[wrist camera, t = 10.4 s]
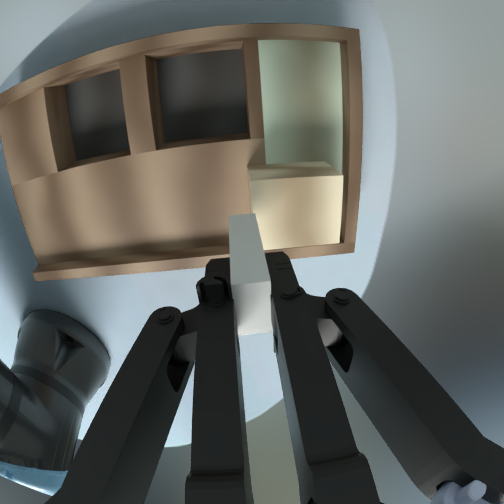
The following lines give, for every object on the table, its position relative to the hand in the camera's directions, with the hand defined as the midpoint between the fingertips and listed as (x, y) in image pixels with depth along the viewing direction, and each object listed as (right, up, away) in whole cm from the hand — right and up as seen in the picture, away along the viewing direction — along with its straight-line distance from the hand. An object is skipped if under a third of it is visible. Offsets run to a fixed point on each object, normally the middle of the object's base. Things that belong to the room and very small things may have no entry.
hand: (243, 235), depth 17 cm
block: (+3, +4, +6) cm, 7 cm away
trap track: (-7, +8, +7) cm, 13 cm away
